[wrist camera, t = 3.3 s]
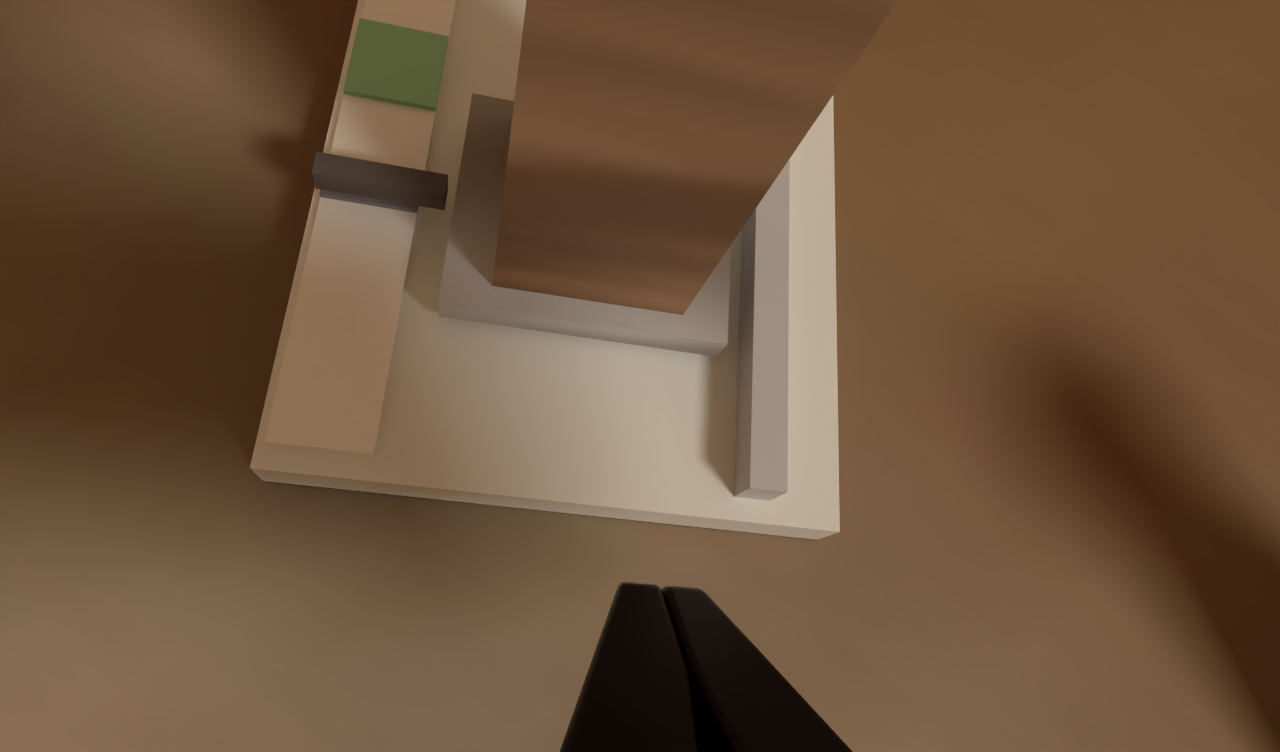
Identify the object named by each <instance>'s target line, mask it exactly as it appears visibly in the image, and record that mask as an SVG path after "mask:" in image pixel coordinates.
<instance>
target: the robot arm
mask: <svg viewBox="0 0 1280 752" xmlns="http://www.w3.org/2000/svg"><path fill="white" fill-rule="evenodd" d="M560 752H852V750H851V749H850V748H849V747H848V746H847V745H846V744H845V743H844V742H843V741H842V740H841V739H840V737H839V736H838V735H837V734H836V733H835V732H834V731H833V730H832V729H831V728H830V727H829V726H828V724H827V723H826V722H825V721H824V720H823V719H822V718H821V717H820V716H819V715H818V714H817V713H816V711H815V710H814V709H813V708H812V707H811V706H810V705H809V704H808V703H807V702H806V701H805V700H804V698H803V697H802V696H801V695H800V694H799V693H798V692H797V691H796V690H795V689H794V688H793V687H792V685H791V684H790V683H789V682H788V681H787V680H786V679H785V678H784V677H783V676H782V675H781V674H780V673H779V671H778V670H777V669H776V668H775V667H774V666H773V665H772V664H771V663H770V662H769V661H768V660H767V658H766V657H765V656H764V655H763V654H762V653H761V652H760V651H759V650H758V649H757V648H756V647H755V645H754V644H753V643H752V642H751V641H750V640H749V639H748V638H747V637H746V636H745V635H744V634H743V632H742V631H741V630H740V629H739V628H738V627H737V626H736V625H735V624H734V623H733V622H732V621H731V619H730V618H729V617H728V616H727V615H726V614H725V613H724V612H723V611H722V610H721V609H720V608H719V606H718V605H717V604H716V603H715V602H714V601H713V600H712V599H711V598H710V597H709V596H708V595H707V594H706V593H705V592H704V591H703V590H701V589H698V588H691V587H680V586H665V587H663V588H662V589H661V588H660V587H658V586H657V585H655V584H647V583H637V582H622V583H620V584H619V586H618V588H617V591H616V593H615V596H614V599H613V602H612V605H611V608H610V610H609V613H608V616H607V619H606V622H605V625H604V627H603V630H602V633H601V636H600V639H599V642H598V644H597V647H596V650H595V653H594V656H593V659H592V661H591V664H590V667H589V670H588V673H587V676H586V679H585V681H584V684H583V687H582V690H581V693H580V696H579V698H578V701H577V704H576V707H575V710H574V713H573V715H572V718H571V721H570V724H569V727H568V730H567V732H566V735H565V738H564V741H563V744H562V747H561V749H560Z"/></svg>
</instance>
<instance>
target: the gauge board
mask: <svg viewBox="0 0 1280 752" xmlns="http://www.w3.org/2000/svg"><path fill="white" fill-rule="evenodd" d="M525 8H526V0H358V4H357V8H356V12H355V17H354V21H353V25H352V30H351V34H350V38H349V42H348V47H347V51H346V55H345V60H344V64H343V68H342V73H341V77H340V81H339V85H338V90H337V94H336V98H335V103H334V107H333V111H332V116H331V120H330V124H329V129H328V133H327V137H326V141H325V146H324V150H323V153H328V154H333V155H339V156H345V157H351V158H356V159H362V160H368V161H373V162H379V163H385V164H390V165H396V166H402V167H407V168H413V169H419V170H424V171H430V172H436V173H442V174H447V175H448V193H447V199H446V205H445V210H440V209H434V208H428V207H422V206H416V205H410V204H404V203H398V202H392V201H386V200H380V199H374V198H368V197H362V196H356V195H350V194H344V193H338V192H332V191H326V190H321V189H316V187H315V189H314V193H313V197H312V202H311V206H310V210H309V215H308V219H307V223H306V228H305V232H304V236H303V240H302V245H301V249H300V253H299V258H298V262H297V266H296V271H295V275H294V279H293V284H292V288H291V292H290V296H289V301H288V305H287V309H286V314H285V318H284V322H283V327H282V331H281V335H280V340H279V344H278V348H277V352H276V357H275V361H274V365H273V370H272V374H271V378H270V383H269V387H268V391H267V395H266V400H265V404H264V408H263V413H262V417H261V421H260V426H259V430H258V434H257V439H256V443H255V447H254V451H253V456H252V460H251V464H250V469H251V470H252V471H253V472H254V473H255V474H256V475H257V476H258V477H259V478H260V479H261V480H262V481H269V482H278V483H288V484H297V485H307V486H316V487H325V488H335V489H344V490H354V491H363V492H373V493H382V494H392V495H401V496H410V497H420V498H429V499H439V500H448V501H458V502H467V503H477V504H486V505H496V506H505V507H514V508H524V509H533V510H543V511H552V512H562V513H571V514H581V515H590V516H600V517H609V518H618V519H628V520H637V521H647V522H656V523H666V524H675V525H685V526H694V527H703V528H713V529H722V530H732V531H741V532H751V533H760V534H770V535H779V536H789V537H798V538H807V539H820V538H823V537H826V536H829V535H832V534H835V533H838V532H840V521H839V454H838V387H837V320H836V252H835V185H834V118H833V96H832V97H831V99H830V100H829V102H828V103H827V105H826V106H825V108H824V109H823V111H822V112H821V114H820V115H819V116H818V118H817V119H816V121H815V122H814V124H813V125H812V127H811V128H810V130H809V131H808V133H807V134H806V136H805V137H804V138H803V140H802V141H801V143H800V144H799V146H798V147H797V149H796V150H795V152H794V153H793V155H792V156H791V158H790V159H789V160H788V162H787V163H786V165H785V166H784V168H783V169H782V171H781V172H780V174H779V175H778V177H777V178H776V180H775V181H774V183H773V184H772V185H771V187H770V188H769V190H768V191H767V193H766V194H765V196H764V197H763V199H762V200H761V202H760V203H759V205H758V206H757V207H756V209H755V210H754V212H753V213H752V215H751V216H750V218H749V219H748V221H747V222H746V224H745V225H744V227H743V228H742V229H741V231H740V232H739V234H738V235H737V237H736V238H735V240H734V241H733V243H732V244H731V259H730V289H729V319H728V344H727V345H726V346H725V347H724V349H723V350H722V351H721V352H720V353H719V354H718V355H717V356H716V357H715V356H708V355H701V354H694V353H687V352H680V351H674V350H667V349H660V348H653V347H646V346H639V345H632V344H625V343H618V342H611V341H605V340H598V339H591V338H584V337H577V336H570V335H563V334H556V333H549V332H543V331H536V330H529V329H522V328H515V327H508V326H501V325H494V324H487V323H480V322H474V321H467V320H460V319H453V318H446V317H439V316H438V298H439V292H440V286H441V280H442V274H443V268H444V262H445V256H446V250H447V244H448V238H449V232H450V226H451V219H452V213H453V207H454V201H455V195H456V189H457V183H458V177H459V171H460V165H461V159H462V153H463V147H464V141H465V134H466V128H467V122H468V116H469V110H470V104H471V98H472V93H475V94H480V95H485V96H490V97H495V98H500V99H505V100H511V101H514V100H515V91H516V83H517V75H518V66H519V58H520V50H521V41H522V33H523V25H524V16H525Z"/></svg>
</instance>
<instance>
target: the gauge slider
mask: <svg viewBox="0 0 1280 752" xmlns="http://www.w3.org/2000/svg"><path fill="white" fill-rule="evenodd" d="M897 1H898V0H526V8H525V16H524V25H523V33H522V41H521V50H520V58H519V66H518V75H517V83H516V91H515V100H514V101H511V100H505V99H500V98H495V97H490V96H485V95H480V94H475V93H472V98H471V104H470V110H469V116H468V122H467V128H466V134H465V141H464V147H463V153H462V159H461V165H460V171H459V177H458V183H457V189H456V195H455V201H454V207H453V213H452V219H451V226H450V232H449V238H448V244H447V250H446V256H445V262H444V268H443V274H442V280H441V286H440V292H439V298H438V316H439V317H446V318H453V319H460V320H467V321H474V322H480V323H487V324H494V325H501V326H508V327H515V328H522V329H529V330H536V331H543V332H549V333H556V334H563V335H570V336H577V337H584V338H591V339H598V340H605V341H611V342H618V343H625V344H632V345H639V346H646V347H653V348H660V349H667V350H674V351H680V352H687V353H694V354H701V355H708V356H715V357H716V356H717V355H718V354H719V353H720V352H721V351H722V350H723V349H724V347H725V346H726V345H727V344H728V319H729V289H730V259H731V244H732V243H733V241H734V240H735V238H736V237H737V235H738V234H739V232H740V231H741V229H742V228H743V227H744V225H745V224H746V222H747V221H748V219H749V218H750V216H751V215H752V213H753V212H754V210H755V209H756V207H757V206H758V205H759V203H760V202H761V200H762V199H763V197H764V196H765V194H766V193H767V191H768V190H769V188H770V187H771V185H772V184H773V183H774V181H775V180H776V178H777V177H778V175H779V174H780V172H781V171H782V169H783V168H784V166H785V165H786V163H787V162H788V160H789V159H790V158H791V156H792V155H793V153H794V152H795V150H796V149H797V147H798V146H799V144H800V143H801V141H802V140H803V138H804V137H805V136H806V134H807V133H808V131H809V130H810V128H811V127H812V125H813V124H814V122H815V121H816V119H817V118H818V116H819V115H820V114H821V112H822V111H823V109H824V108H825V106H826V105H827V103H828V102H829V100H830V99H831V97H832V96H833V94H834V93H835V92H836V90H837V89H838V87H839V86H840V84H841V83H842V81H843V80H844V78H845V77H846V75H847V74H848V72H849V71H850V70H851V68H852V67H853V65H854V64H855V62H856V61H857V59H858V58H859V56H860V55H861V53H862V52H863V50H864V49H865V48H866V46H867V45H868V43H869V42H870V40H871V39H872V37H873V36H874V34H875V33H876V31H877V30H878V28H879V27H880V26H881V24H882V23H883V21H884V20H885V18H886V17H887V15H888V14H889V12H890V11H891V9H892V8H893V6H894V5H895V3H896V2H897ZM312 177H313V180H314V184H315V187H316V189H321V190H326V191H332V192H338V193H344V194H350V195H356V196H362V197H368V198H374V199H380V200H386V201H392V202H398V203H404V204H410V205H416V206H422V207H428V208H434V209H440V210H445V205H446V199H447V193H448V175H447V174H442V173H436V172H430V171H424V170H419V169H413V168H407V167H402V166H396V165H390V164H385V163H379V162H373V161H368V160H362V159H356V158H351V157H345V156H339V155H333V154H328V153H322V152H316V156H315V160H314V164H313V168H312Z"/></svg>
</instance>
